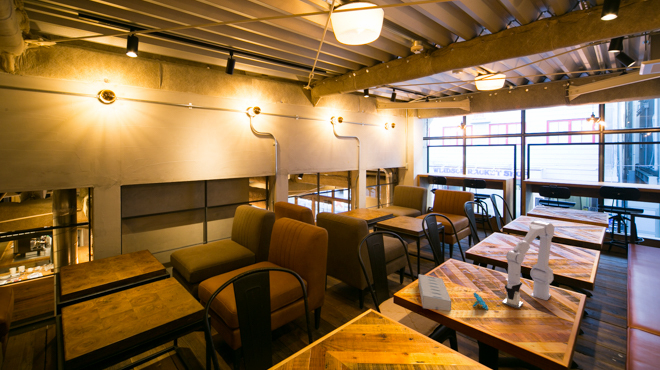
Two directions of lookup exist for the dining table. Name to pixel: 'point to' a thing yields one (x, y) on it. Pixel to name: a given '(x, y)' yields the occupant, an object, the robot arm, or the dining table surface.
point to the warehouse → (433, 293)
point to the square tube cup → (515, 299)
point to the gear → (480, 301)
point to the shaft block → (513, 304)
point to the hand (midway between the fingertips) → (513, 296)
